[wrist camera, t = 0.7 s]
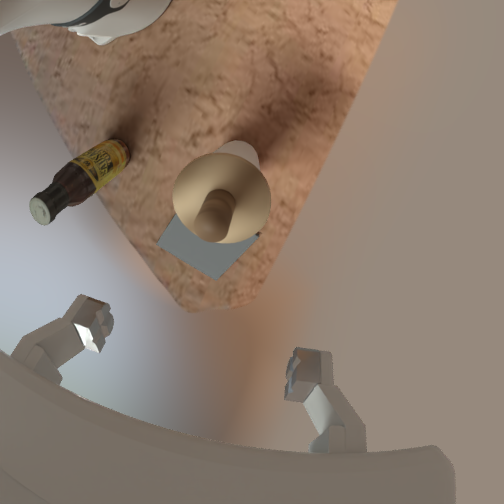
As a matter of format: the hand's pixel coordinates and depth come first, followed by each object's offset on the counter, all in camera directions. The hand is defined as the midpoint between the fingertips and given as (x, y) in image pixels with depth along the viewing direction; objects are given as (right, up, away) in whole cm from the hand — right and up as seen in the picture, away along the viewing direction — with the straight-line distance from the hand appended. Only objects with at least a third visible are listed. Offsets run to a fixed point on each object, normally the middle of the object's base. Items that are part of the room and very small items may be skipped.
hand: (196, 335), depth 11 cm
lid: (-1, +9, +20) cm, 22 cm away
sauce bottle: (-21, +20, +31) cm, 42 cm away
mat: (-6, +6, +40) cm, 41 cm away
